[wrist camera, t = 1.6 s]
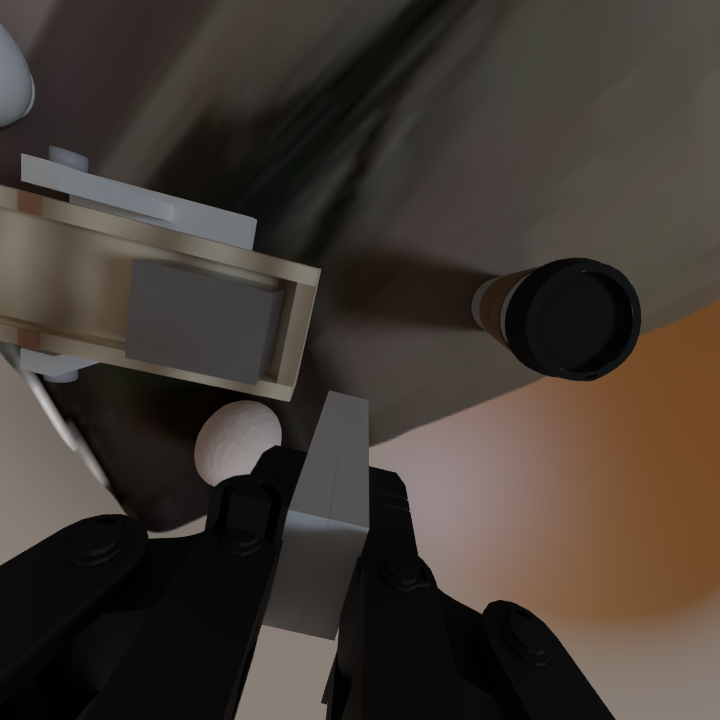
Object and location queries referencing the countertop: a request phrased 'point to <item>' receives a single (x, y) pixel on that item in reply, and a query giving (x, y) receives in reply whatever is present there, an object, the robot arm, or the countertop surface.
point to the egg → (235, 440)
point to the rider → (202, 320)
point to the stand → (127, 202)
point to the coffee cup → (562, 317)
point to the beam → (123, 285)
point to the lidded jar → (14, 81)
